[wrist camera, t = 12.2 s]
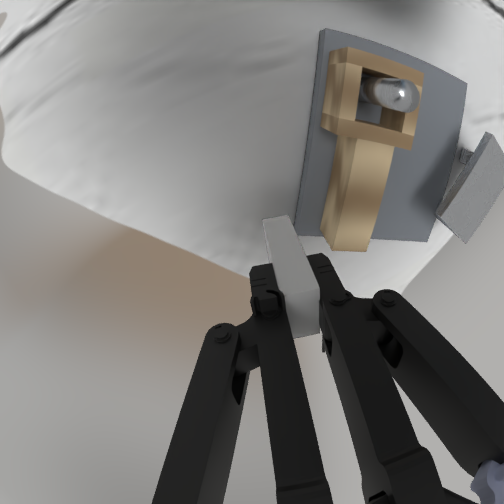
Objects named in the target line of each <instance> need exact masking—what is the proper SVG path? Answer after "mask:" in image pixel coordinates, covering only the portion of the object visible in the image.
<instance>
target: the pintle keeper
mask: <svg viewBox="0 0 504 504" xmlns="http://www.w3.org/2000/svg"><path fill="white" fill-rule="evenodd" d="M358 101H359V102H363V103H368V104H373V105H377V106H381V107H385V108H389V109H393V110H397V111H401V112H405V113H410V112H413V111H414V110H415V109H416V108H417V107H418V105H419V101H420V95H419V91H418V89H417V87H416V85H415V84H414V83H413V82H411V81H409V80H407V79H396V78H379V77H361V82H360V89H359V97H358ZM460 162H462V163H464V164H466V166H465V168H464V170H463V171H462V173H461V174H460V176H459V177H458V179H457V181H456V182H455V184H454V185H453V187H452V188H451V190H450V191H449V193H448V194H447V195H446V197H445V198H444V200H443V199H442V202H438V205H437V208H436V211H435V214H434V216H435V217H436V218H437V219H439V220H440V221H441V222H442V223H443V224H444V225H445V226H447V227H448V228H449V229H450V230H451V231H452V232H453V233H454V234H455V235H456V236H458V237H459V238H460V239H461V240H462V241H463V242H464V243H465V244H466V243H467V242H468V241H469V239H470V238H471V237H472V235H473V234H474V232H475V231H476V230H477V228H478V227H479V225H480V224H481V222H482V221H483V219H484V218H485V216H486V215H487V213H488V212H489V210H490V209H491V207H492V206H493V204H494V203H495V201H496V199H497V198H498V196H499V194H500V193H501V191H502V189H503V188H504V153H503V151H502V150H501V148H500V146H499V144H498V142H497V141H496V139H495V137H494V136H493V134H491V133H488V132H485V134H484V136H483V138H482V139H481V141H480V143H479V145H478V146H477V148H476V150H475V152H472V151H470V150H468V149H465V148H463V149H462V153H461V157H460Z"/></svg>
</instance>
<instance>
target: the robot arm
mask: <svg viewBox="0 0 504 504" xmlns="http://www.w3.org/2000/svg"><path fill="white" fill-rule="evenodd" d="M262 221H263V227H264V233H265V239H266V245H267V252H268V258H269V262H270V263H269V264H264V265H258V266H253V267H252V269H251V271H250V273H249V276H250V284H251V292H252V297H251V300H250V303H251V307H252V312H253V314H252V316H251V317H250V318H249V319H248V320H247V321H246V322H244V323H242V324H240V325H238V326H236V327H235V326H234V325H232V324H229V323H221V324H217V325H215V326H213V327H212V328H211V329H209V330H208V332H207V334H206V336H205V340H204V342H203V345H202V348H201V351H200V354H199V357H198V360H197V363H196V366H195V369H194V372H193V375H192V378H191V381H190V384H189V387H188V390H187V393H186V396H185V399H184V402H183V405H182V408H181V411H180V415H179V418H178V421H177V424H176V427H175V430H174V433H173V437H172V440H171V443H170V446H169V449H168V452H167V455H166V459H165V462H164V465H163V468H162V471H161V475H160V478H159V481H158V485H157V488H156V491H155V494H154V498H153V501H152V504H223V500H224V496H225V492H226V487H227V482H228V478H229V473H230V469H231V464H232V459H233V454H234V449H235V444H236V440H237V435H238V430H239V425H240V420H241V415H242V410H243V405H244V400H245V395H246V390H247V385H248V380H249V374H250V371H251V370H253V369H255V368H257V367H259V366H260V368H261V377H262V385H263V392H264V400H265V407H266V414H267V422H268V429H269V437H270V444H271V451H272V458H273V465H274V473H275V480H276V496H277V504H333V501H332V496H331V492H330V488H329V484H328V482H327V479H326V477H325V473H324V468H323V464H322V459H321V455H320V450H319V446H318V441H317V437H316V432H315V428H314V424H313V420H312V415H311V411H310V406H309V402H308V398H307V393H306V389H305V385H304V381H303V377H302V372H301V368H300V364H299V360H298V356H297V352H296V348H295V344H294V340H293V339H295V338H299V337H304V336H309V335H314V334H318V333H320V328H321V331H322V334H323V335H322V336H323V337H322V338H323V339H322V352H325V351H326V354H327V357H328V361H329V363H330V367H331V370H332V373H333V377H334V380H335V383H336V386H337V390H338V393H339V396H340V400H341V403H342V406H343V410H344V413H345V417H346V420H347V424H348V427H349V431H350V434H351V438H352V441H353V445H354V449H355V452H356V456H357V459H358V463H359V467H360V471H361V475H362V491H363V495H364V500H365V504H478V503H475V502H473V501H471V500H469V499H466V498H464V497H462V496H460V495H458V494H456V493H454V492H452V491H450V490H448V489H446V488H443V487H442V484H441V481H440V478H439V475H438V472H437V469H436V466H435V463H434V460H433V458H432V456H431V454H430V452H429V451H428V450H427V448H425V447H422V446H421V445H420V444H419V442H418V440H417V437H416V435H415V432H414V429H413V427H412V424H411V421H410V419H409V416H408V414H407V411H406V409H405V407H404V404H403V402H402V399H401V397H400V394H399V392H398V390H397V387H396V385H395V383H394V380H393V378H394V379H395V381H396V382H397V383H398V385H399V386H400V387H401V388H402V390H403V391H404V392H405V393H406V395H407V396H408V397H409V399H410V400H411V401H412V403H413V404H414V405H415V407H416V408H417V409H418V410H419V412H420V413H421V414H422V416H423V417H424V418H425V420H426V421H427V422H428V423H429V425H430V426H431V428H432V429H433V430H434V432H435V433H436V434H437V436H438V437H439V438H440V440H441V441H442V442H443V444H444V445H445V447H446V448H447V449H448V451H449V452H450V453H451V455H452V456H453V457H454V459H455V460H456V461H457V463H458V464H459V465H460V466H461V467H462V468H463V469H464V470H465V471H466V472H467V473H468V474H470V475H471V476H473V477H474V480H473V481H472V483H471V490H472V491H473V492H475V493H476V494H477V495H478V496H479V498H480V501H481V504H504V402H503V401H502V400H501V399H500V398H499V396H498V395H497V394H496V393H495V392H494V391H493V389H491V387H490V386H489V385H488V384H487V383H486V381H485V380H484V379H483V378H482V377H481V376H480V375H479V374H478V372H477V371H476V370H475V369H474V368H473V367H472V366H471V365H470V364H469V363H468V362H467V361H466V359H465V358H464V357H463V356H462V355H461V354H460V353H459V352H458V351H457V350H456V349H455V348H454V347H453V346H452V345H451V344H450V343H449V342H448V341H447V340H446V339H445V338H444V337H443V336H442V335H441V334H440V332H438V330H437V329H435V328H434V327H433V326H432V325H431V324H430V323H429V322H428V321H427V320H426V319H425V318H424V317H423V316H422V315H421V314H420V313H419V312H418V311H417V310H416V309H415V308H414V307H413V306H412V305H411V304H410V303H409V302H408V301H407V300H406V299H404V298H403V297H402V296H401V295H400V294H399V293H397V292H396V291H393V290H390V289H384V290H380V291H378V292H377V293H375V295H374V297H373V299H370V298H357V297H354V296H353V295H352V294H351V292H349V291H347V290H345V289H344V287H343V285H342V283H341V281H340V279H339V277H338V275H337V273H336V271H335V269H334V267H333V266H332V264H331V262H330V260H329V258H328V257H326V256H325V255H324V254H322V253H319V254H313V255H308V256H306V254H305V252H304V250H303V248H302V245H301V243H300V241H299V238H298V236H297V234H296V232H295V229H294V227H293V225H292V223H291V220H290V218H289V216H288V215H284V216H278V217H272V218H267V219H262ZM392 377H393V378H392Z"/></svg>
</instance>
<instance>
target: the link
mask: <svg viewBox="0 0 504 504" xmlns="http://www.w3.org/2000/svg"><path fill="white" fill-rule="evenodd" d="M362 73H363V74H367V75H370V76H374V77H379V78H396V79H407V80H409V81H411V82H413V83H414V84H415V85H416V87H417V89H418V91H419V95H420V100H421V94H422V86H423V79H424V73H422V72H420V71H418V70H415V69H413V68H411V67H408V66H406V65H403V64H400V63H398V62H395V61H392V60H389V59H387V58H384V57H381V56H378V55H375V54H372V53H368V52H365V51H362V50H358V49H355V48H351V47H344V48H340V49H336V50H333V51H330V52H329V61H328V70H327V79H326V87H325V95H324V102H323V110H322V117H321V124H320V127H322V128H324V129H326V130H328V131H330V132H332V133H334V134H336V135H338V137H337V143H336V149H335V155H334V160H333V166H332V171H331V177H330V182H329V187H328V192H327V197H326V202H325V207H324V212H323V216H322V221H321V226H320V230H321V232H322V234H323V235H324V237H325V239H326V241H327V242H328V244H329V246H330V248H331V250H332V251H358V252H366V251H367V248H368V245H369V241H370V238H371V235H372V232H373V229H374V225H375V222H376V218H377V215H378V211H379V208H380V204H381V201H382V197H383V193H384V189H385V186H386V182H387V178H388V173H389V169H390V165H391V161H392V156H393V152H394V147H398V148H403V149H406V150H410V151H411V148H412V144H413V139H414V134H415V129H416V124H417V118H418V112H419V107H420V101H419V105H418V107H417V108H416V109H415V110H414V111H413V112H410V113H405V112H401V111H397V110H393V109H389V108H385V107H382V111H381V117H380V123H379V124H377V123H373V122H368V121H364V120H359V119H355V117H356V110H357V104H358V97H359V89H360V82H361V74H362Z"/></svg>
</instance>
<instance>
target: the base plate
mask: <svg viewBox="0 0 504 504" xmlns="http://www.w3.org/2000/svg"><path fill="white" fill-rule="evenodd" d="M344 47H351V48H355V49H358V50H362V51H365V52H368V53H372V54H375V55H378V56H381V57H384V58H387V59H389V60H392V61H395V62H398V63H400V64H403V65H406V66H408V67H411V68H413V69H415V70H418V71H420V72H422V73H424V79H423V86H422V94H421V100H420V107H419V112H418V118H417V124H416V129H415V134H414V139H413V144H412V148H411V151H410V150H406V149H403V148H398V147H394V152H393V156H392V161H391V165H390V169H389V173H388V178H387V182H386V186H385V189H384V193H383V197H382V201H381V204H380V208H379V211H378V215H377V218H376V222H375V225H374V229H373V232H372V235H371V238H370V239H384V240H401V241H417V242H427V241H428V239H429V236H430V233H431V231H432V228H433V225H434V222H435V220H436V217H435V216H434V214H435V211H436V208H437V205H438V202H442V199H443V195H444V192H445V189H446V185H447V182H448V178H449V175H450V171H451V167H452V164H453V160H454V156H455V151H456V147H457V143H458V138H459V133H460V128H461V123H462V117H463V111H464V105H465V98H466V91H467V83H465V82H464V81H462V80H460V79H458V78H456V77H455V76H453V75H451V74H449V73H447V72H445V71H443V70H441V69H439V68H437V67H435V66H433V65H431V64H429V63H427V62H424V61H422V60H420V59H418V58H415V57H413V56H411V55H408V54H406V53H403V52H401V51H398V50H396V49H393V48H390V47H388V46H385V45H382V44H379V43H376V42H373V41H370V40H367V39H364V38H360V37H357V36H354V35H350V34H346V33H343V32H339V31H335V30H331V29H326V28H325V29H323V30H321V31H320V40H319V50H318V60H317V69H316V78H315V86H314V95H313V103H312V111H311V118H310V126H309V133H308V140H307V147H306V154H305V161H304V168H303V174H302V181H301V187H300V194H299V200H298V206H297V212H296V218H295V224H294V229H295V232H296V234H297V235H303V236H324V235H323V234H322V232H321V230H320V226H321V221H322V216H323V212H324V207H325V202H326V197H327V192H328V187H329V182H330V177H331V171H332V166H333V160H334V155H335V149H336V143H337V137H338V135H336V134H334V133H332V132H330V131H328V130H326V129H324V128H322V127H320V124H321V117H322V110H323V102H324V95H325V87H326V79H327V70H328V61H329V52H330V51H333V50H336V49H340V48H344ZM361 77H374V76H370V75H367V74H363V73H362V74H361ZM381 111H382V107H381V106H377V105H373V104H368V103H363V102H359V101H358V104H357V110H356V117H355V119H359V120H364V121H368V122H373V123H377V124H379V123H380V117H381Z"/></svg>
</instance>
